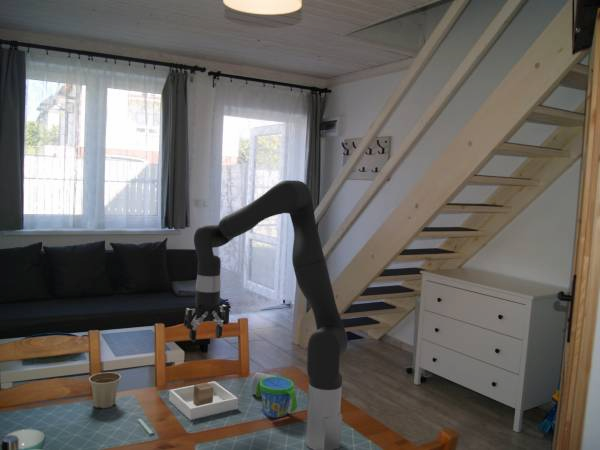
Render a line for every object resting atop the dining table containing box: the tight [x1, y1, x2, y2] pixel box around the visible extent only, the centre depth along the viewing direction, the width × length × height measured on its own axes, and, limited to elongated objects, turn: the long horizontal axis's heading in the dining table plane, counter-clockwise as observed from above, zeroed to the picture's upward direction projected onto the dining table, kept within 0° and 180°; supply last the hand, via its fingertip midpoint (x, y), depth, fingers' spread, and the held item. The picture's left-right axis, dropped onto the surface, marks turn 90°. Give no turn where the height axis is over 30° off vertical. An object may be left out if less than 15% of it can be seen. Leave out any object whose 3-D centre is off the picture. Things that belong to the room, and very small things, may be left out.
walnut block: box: [193, 382, 213, 406], centre depth 164 cm, size 4×4×6 cm
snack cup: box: [255, 376, 298, 419], centre depth 161 cm, size 16×10×10 cm
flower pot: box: [88, 371, 122, 409], centre depth 161 cm, size 9×9×9 cm
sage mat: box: [137, 418, 155, 436], centre depth 150 cm, size 10×10×1 cm
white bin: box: [168, 380, 239, 421], centre depth 164 cm, size 16×16×4 cm
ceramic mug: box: [250, 371, 277, 397], centre depth 176 cm, size 11×8×8 cm
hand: (205, 339), depth 162 cm, fingers open, 8 cm apart
